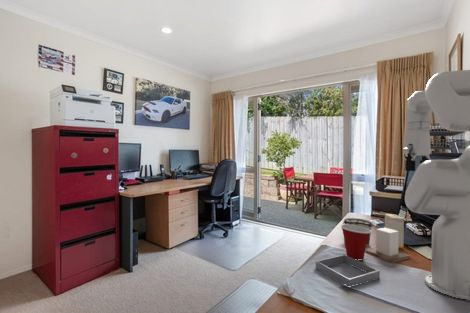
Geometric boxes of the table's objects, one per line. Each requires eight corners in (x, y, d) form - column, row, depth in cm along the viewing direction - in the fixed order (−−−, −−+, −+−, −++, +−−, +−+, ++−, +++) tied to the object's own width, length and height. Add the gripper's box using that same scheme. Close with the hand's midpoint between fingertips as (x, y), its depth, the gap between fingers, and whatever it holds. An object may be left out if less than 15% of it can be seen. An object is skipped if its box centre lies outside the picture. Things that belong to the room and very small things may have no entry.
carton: (398, 253, 96) (398, 231, 96) (389, 256, 94) (389, 233, 94) (384, 248, 101) (384, 227, 101) (376, 250, 99) (376, 229, 99)
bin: (379, 278, 79) (379, 270, 79) (349, 288, 73) (349, 279, 73) (343, 261, 91) (343, 254, 91) (315, 268, 85) (315, 261, 85)
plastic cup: (378, 262, 90) (378, 230, 90) (352, 264, 88) (353, 232, 88) (357, 251, 101) (358, 222, 101) (334, 253, 99) (335, 223, 99)
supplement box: (404, 248, 104) (404, 218, 104) (391, 247, 105) (392, 217, 105) (395, 242, 112) (395, 213, 112) (384, 241, 113) (384, 213, 113)
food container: (371, 241, 113) (372, 219, 113) (373, 245, 108) (373, 223, 108) (343, 237, 119) (343, 216, 119) (342, 241, 113) (343, 219, 113)
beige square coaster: (410, 257, 95) (410, 255, 95) (392, 262, 90) (392, 260, 90) (382, 248, 105) (382, 245, 105) (365, 252, 100) (365, 249, 100)
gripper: (420, 129, 103) (419, 169, 103) (395, 127, 95) (394, 170, 95) (441, 127, 96) (440, 170, 96) (416, 125, 89) (415, 171, 89)
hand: (417, 170), depth 96 cm, fingers open, 9 cm apart
